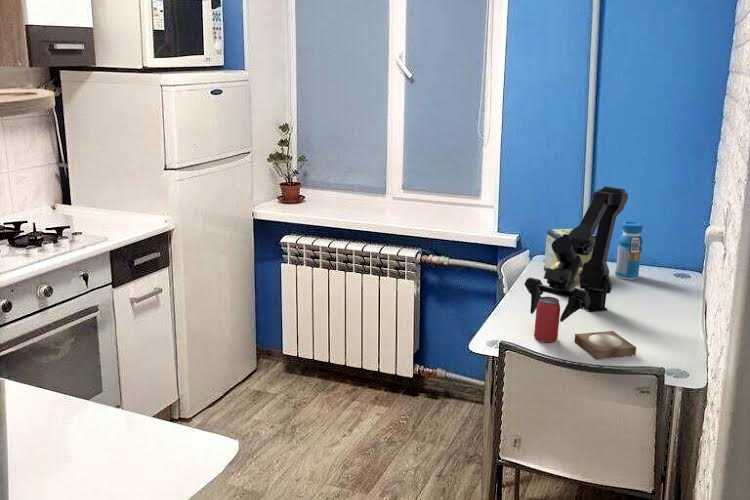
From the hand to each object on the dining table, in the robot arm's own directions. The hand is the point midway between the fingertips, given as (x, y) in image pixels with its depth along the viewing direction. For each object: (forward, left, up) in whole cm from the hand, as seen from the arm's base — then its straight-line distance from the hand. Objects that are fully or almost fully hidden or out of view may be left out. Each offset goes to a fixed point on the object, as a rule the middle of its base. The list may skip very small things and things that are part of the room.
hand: (545, 317), depth 217 cm
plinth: (-14, +9, -7) cm, 18 cm away
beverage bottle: (-57, -48, -7) cm, 75 cm away
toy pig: (-27, -38, -7) cm, 47 cm away
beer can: (-1, -1, -7) cm, 7 cm away
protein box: (-38, -56, -7) cm, 68 cm away
